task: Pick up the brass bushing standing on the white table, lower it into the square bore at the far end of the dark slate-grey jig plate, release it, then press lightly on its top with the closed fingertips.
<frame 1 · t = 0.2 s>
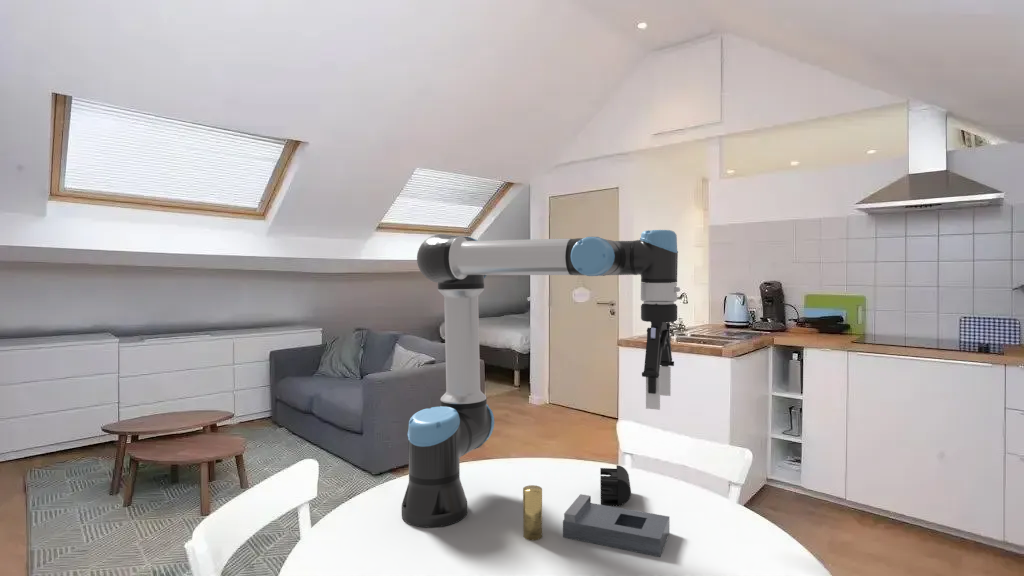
hand: (658, 401, 119), 28 cm above the table, fingers open, 13 cm apart
jig: (616, 535, 117), on the table
bushing: (532, 535, 117), on the table
end cap: (615, 499, 136), on the table
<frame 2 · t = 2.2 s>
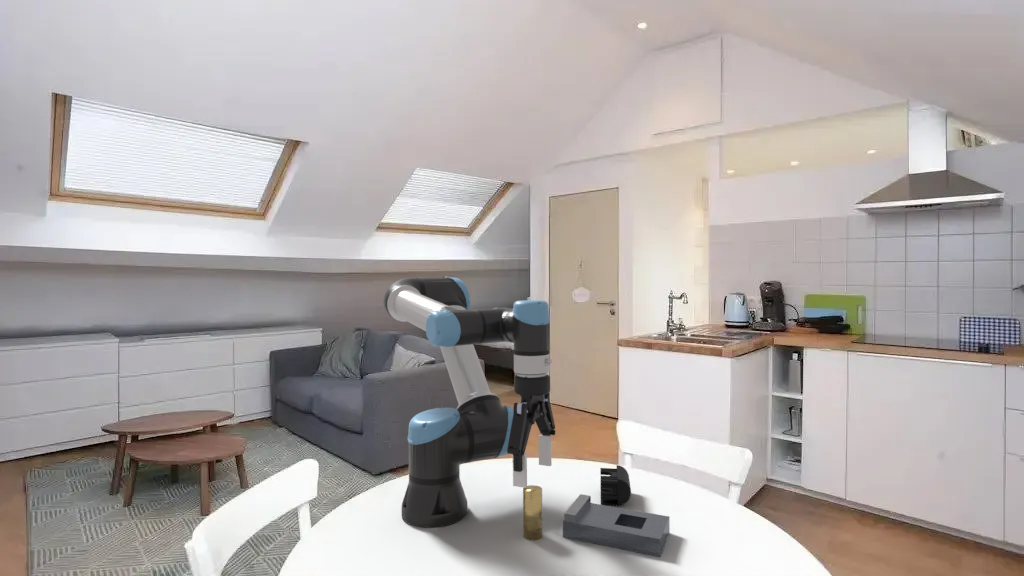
hand: (533, 475, 116), 13 cm above the table, fingers open, 13 cm apart
nothing on the table moved.
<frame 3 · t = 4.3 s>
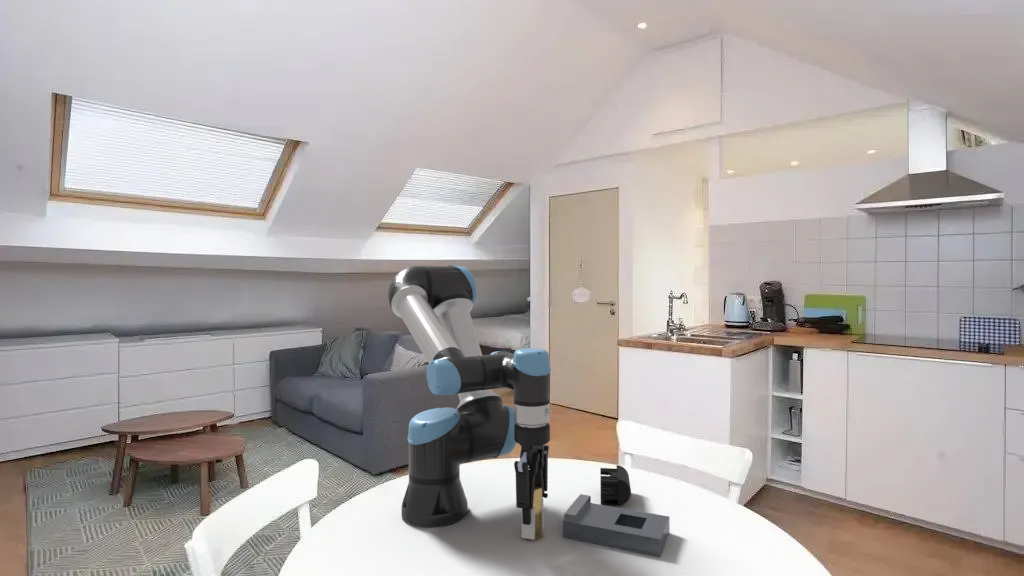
hand: (532, 532, 117), 1 cm above the table, fingers closed on bushing, 4 cm apart
bushing: (532, 535, 117), on the table, touching gripper
everything else where it was.
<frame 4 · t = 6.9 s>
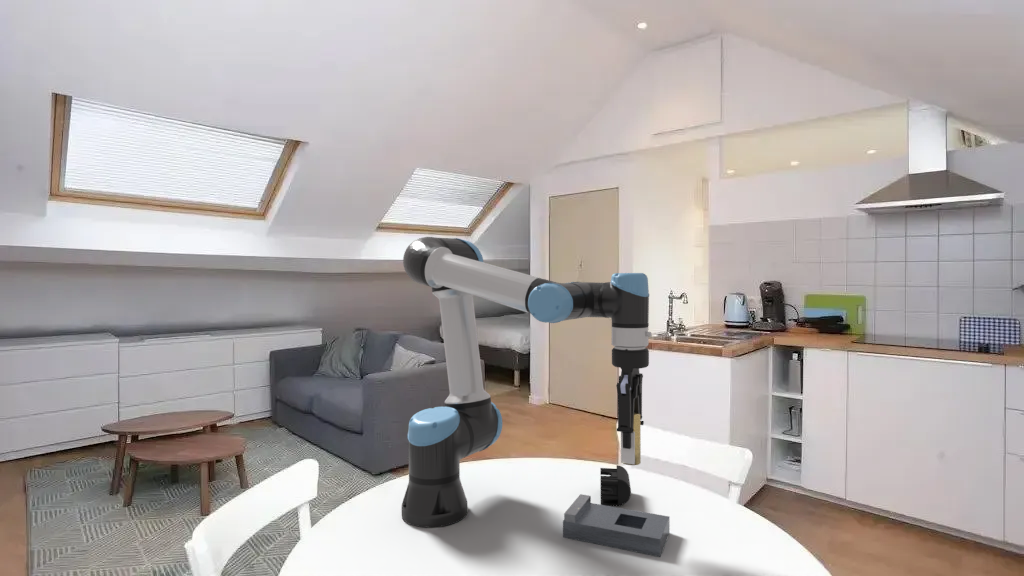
hand: (630, 459, 115), 17 cm above the table, fingers closed on bushing, 4 cm apart
bushing: (630, 462, 115), point 16 cm above the table, touching gripper
everything else where it was.
when the fingers open (5 cm above the table, at t = 9.6 s): bushing stays where it is, resting on jig.
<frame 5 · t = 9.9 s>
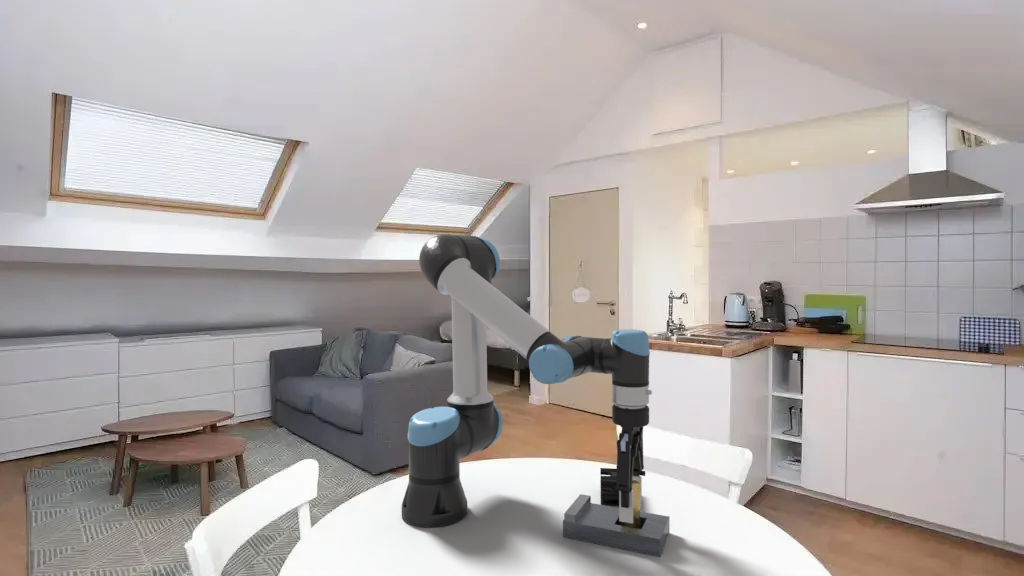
hand: (630, 513, 115), 5 cm above the table, fingers open, 7 cm apart
bushing: (630, 530, 115), point 2 cm above the table, touching jig
everything else where it was.
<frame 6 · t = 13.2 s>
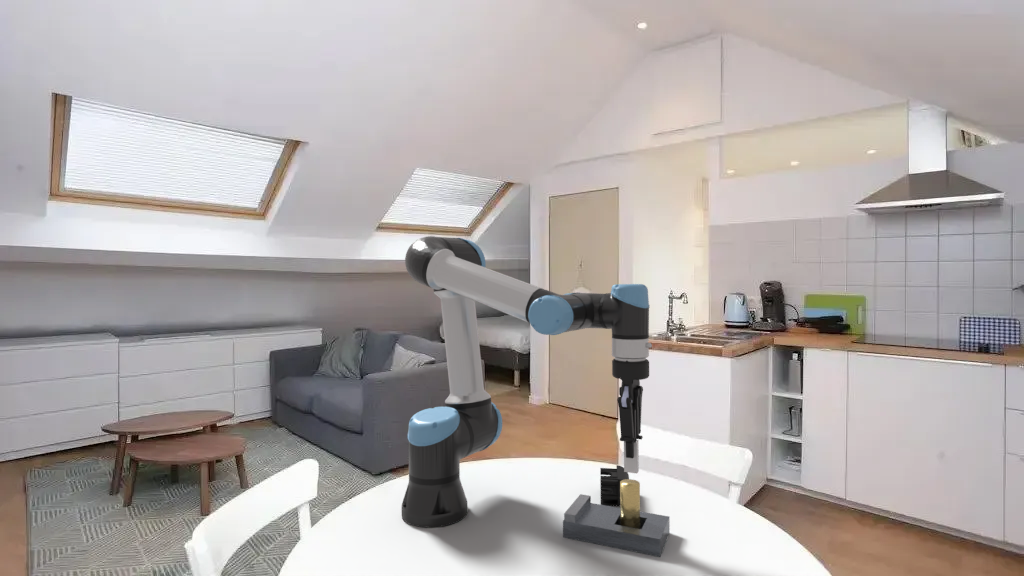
hand: (631, 471, 115), 14 cm above the table, fingers closed
nothing on the table moved.
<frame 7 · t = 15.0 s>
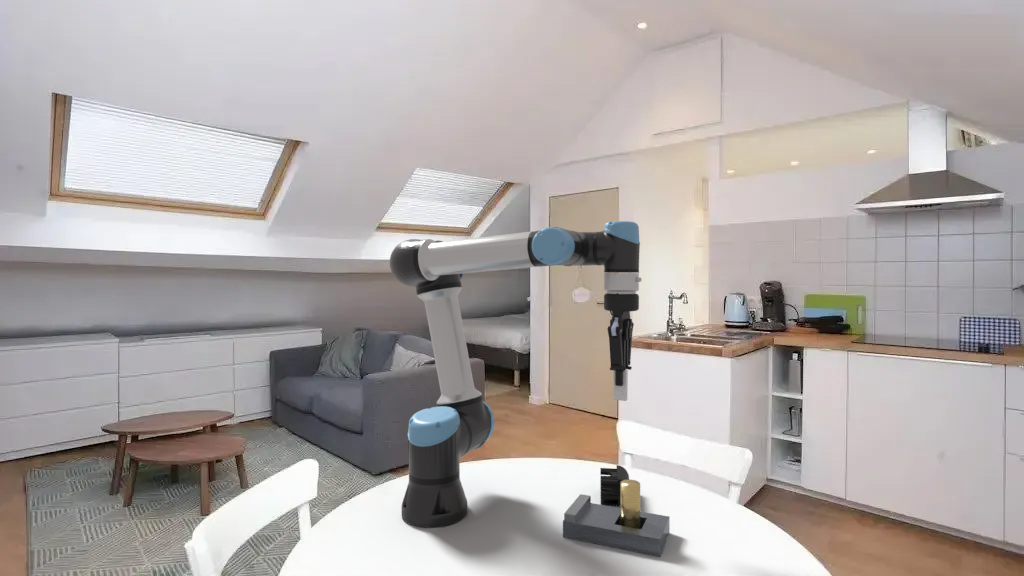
hand: (620, 399, 122), 27 cm above the table, fingers closed
nothing on the table moved.
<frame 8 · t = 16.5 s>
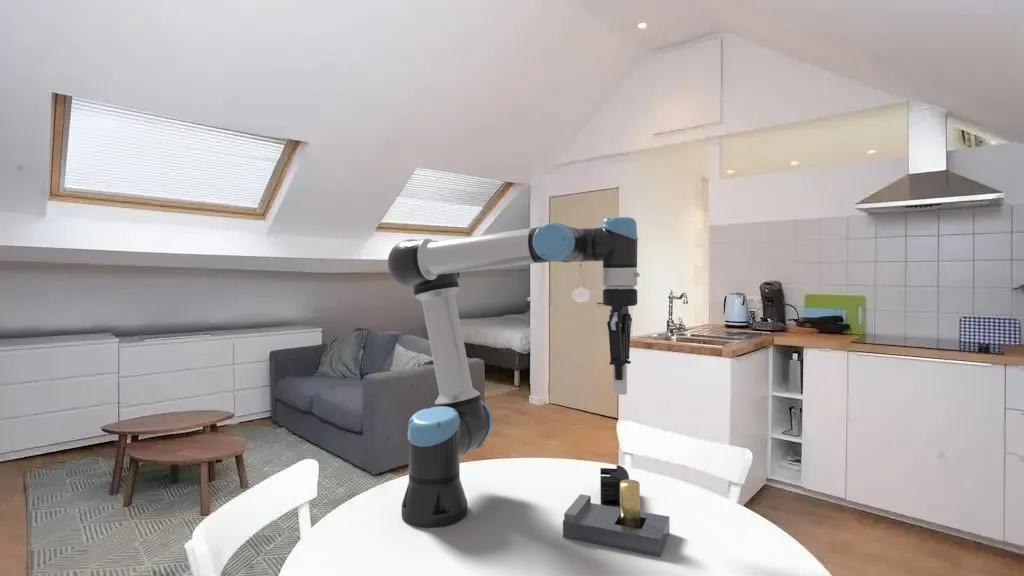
hand: (620, 393, 123), 28 cm above the table, fingers closed
nothing on the table moved.
at the end: bushing 0.1 cm from the target spot on the jig, point 1.5 cm above the jig's base; bushing tilted 1°; the gripper is holding nothing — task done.
